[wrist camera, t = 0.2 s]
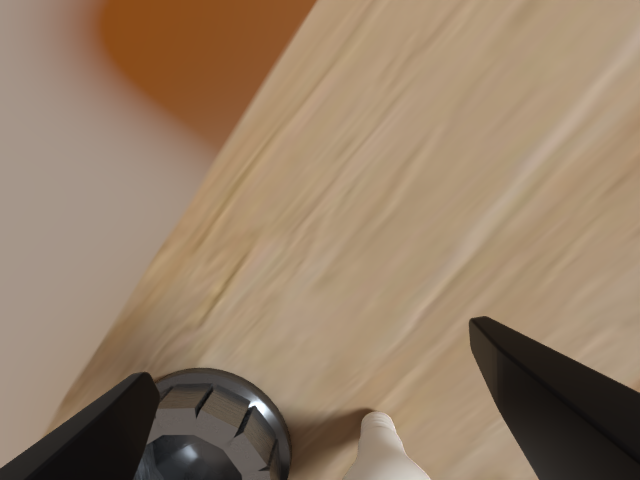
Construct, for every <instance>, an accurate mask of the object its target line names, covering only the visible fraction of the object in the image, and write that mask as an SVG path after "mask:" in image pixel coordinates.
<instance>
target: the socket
mask: <svg viewBox="0 0 640 480" xmlns="http://www.w3.org/2000/svg"><path fill="white" fill-rule="evenodd" d="M155 384H156V386H157V388H158V390H159V392H160V402H159V406H158V409H157V412H156V415H155V419H154V422H153V425H152V428H151V431H150V435H149V438H148V441H147V444H146V447H145V450H144V453H143V456H142V459H141V462H140V464H139V467H138V469H137V472H136V474H135V477H134V479H133V480H287V478H288V474H289V469H290V463H291V441H290V435H289V432H288V429H287V425H286V423H285V421H284V419H283V417H282V415H281V413H280V412H279V410H278V408H277V407H276V406H275V404H274V403H273V402H272V401H271V399H270V398H269V397H268V396H267V395H266V394H265V393H264V392H263V391H261V390H260V389H259V388H258V387H256V386H255V385H254V384H252V383H251V382H249V381H247V380H245V379H244V378H242V377H239V376H237V375H235V374H232V373H229V372H226V371H222V370H217V369H211V368H192V369H186V370H181V371H177V372H175V373H172V374H169V375H167V376H165V377H164V378H162V379H160V380H159V381H157V382H156V383H155Z"/></svg>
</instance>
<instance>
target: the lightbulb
mask: <svg viewBox="0 0 640 480" xmlns="http://www.w3.org/2000/svg"><path fill="white" fill-rule="evenodd" d="M343 480H431V479H430V477H429V476H428V475H427V474H426V473H425V472H424V471H423V470H422V469H421V468H420V467H419V466H418V465H417V464H416V463H415V462H414V461H413V460H411V459H410V458H409V457H408V456H407V454H406V452H405V450H404V448H403V444H402V441H401V440H400V438H399V436H398V435H397V434H396V430H395V427H394V424H393V421H392V419H391V418H390V417H389V416H388V415H387V414H385V413H383V412H379V411H375V412H371V413H368V414H367V415H366V416H365V417H364V418H363V420H362V422H361V437H360V439H359V442H358V454H357V458H356V461H355V462H354V463H353V464H352V466H351V467H350V469H349V470H348V472H347V473H346V475H345V476H344V478H343Z"/></svg>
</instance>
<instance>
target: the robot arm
mask: <svg viewBox="0 0 640 480" xmlns="http://www.w3.org/2000/svg"><path fill="white" fill-rule="evenodd" d="M469 334H470V346H471V350H472V353H473V355H474V357H475V360H476V362H477V364H478V366H479V369H480V371H481V373H482V375H483V377H484V380H485V382H486V384H487V386H488V388H489V391H490V393H491V395H492V397H493V399H494V402H495V404H496V406H497V408H498V410H499V412H500V413H501V415H502V417H503V419H504V421H505V422H506V424H507V426H508V427H509V429H510V431H511V432H512V434H513V436H514V438H515V439H516V441H517V443H518V444H519V446H520V448H521V450H522V451H523V453H524V455H525V456H526V458H527V460H528V461H529V463H530V465H531V467H532V468H533V470H534V472H535V473H536V475H537V477H538V479H539V480H640V393H639V392H637V391H635V390H633V389H631V388H629V387H627V386H625V385H623V384H621V383H619V382H617V381H615V380H613V379H611V378H609V377H607V376H605V375H603V374H601V373H599V372H597V371H595V370H593V369H591V368H589V367H587V366H585V365H583V364H581V363H579V362H577V361H575V360H573V359H571V358H569V357H567V356H565V355H563V354H561V353H559V352H557V351H555V350H553V349H551V348H549V347H547V346H545V345H543V344H541V343H539V342H537V341H535V340H533V339H531V338H529V337H527V336H525V335H523V334H521V333H519V332H517V331H515V330H513V329H511V328H509V327H507V326H505V325H503V324H501V323H499V322H497V321H495V320H493V319H491V318H489V317H487V316H482V317H476V318H471V319H470V320H469ZM159 402H160V392H159V390H158V388H157V386H156V384H155V383H154V381H153V379H152V377H151V375H150V374H149V373H148V372H140V373H135V374H132V375H130V376H129V377H127V378H126V379H125V380H123V381H122V382H120V383H119V384H118V385H116V386H115V387H113V388H112V389H111V390H109V391H108V392H106V393H105V394H104V395H102V396H101V397H99V398H98V399H97V400H95V401H94V402H92V403H91V404H90V405H88V406H87V407H85V408H84V409H83V410H81V411H80V412H78V413H77V414H76V415H74V416H73V417H72V418H70V419H69V420H67V421H66V422H65V423H63V424H62V425H60V426H59V427H58V428H56V429H55V430H53V431H52V432H51V433H49V434H48V435H46V436H45V437H44V438H42V439H41V440H39V441H38V442H37V443H35V444H34V445H33V446H31V447H30V448H28V449H27V450H25V451H24V452H23V453H21V454H20V455H19V456H17V457H16V458H14V459H13V460H12V461H10V462H9V463H7V464H6V465H5V466H3V467H2V468H0V480H133V479H134V477H135V474H136V472H137V469H138V467H139V464H140V462H141V459H142V456H143V453H144V450H145V447H146V444H147V441H148V438H149V435H150V431H151V428H152V425H153V422H154V419H155V415H156V412H157V409H158V406H159Z"/></svg>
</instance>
